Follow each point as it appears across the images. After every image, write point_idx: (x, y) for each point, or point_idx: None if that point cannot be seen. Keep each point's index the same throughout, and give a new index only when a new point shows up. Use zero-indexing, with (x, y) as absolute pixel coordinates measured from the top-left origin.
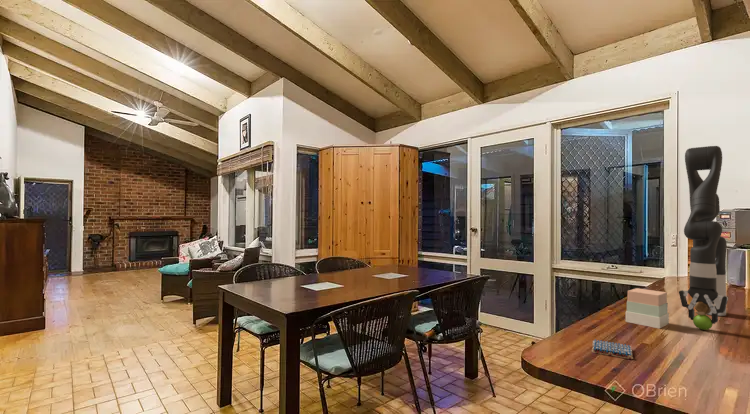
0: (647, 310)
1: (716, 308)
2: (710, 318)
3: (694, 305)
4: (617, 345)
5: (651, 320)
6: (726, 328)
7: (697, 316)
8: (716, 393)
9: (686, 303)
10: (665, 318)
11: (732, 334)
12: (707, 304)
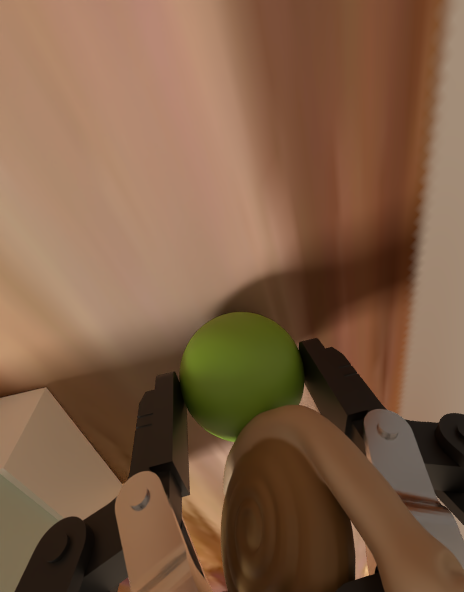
0: None
1: (417, 471)
2: (300, 382)
3: (177, 532)
4: None
5: None
6: (322, 82)
7: (226, 439)
8: (358, 577)
9: (83, 584)
10: (64, 477)
11: (368, 272)
12: (352, 561)
